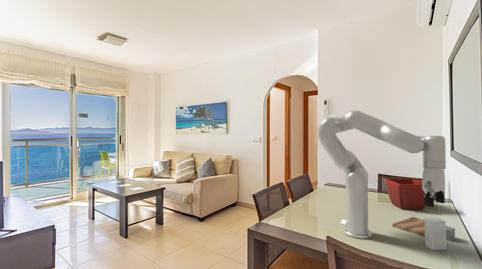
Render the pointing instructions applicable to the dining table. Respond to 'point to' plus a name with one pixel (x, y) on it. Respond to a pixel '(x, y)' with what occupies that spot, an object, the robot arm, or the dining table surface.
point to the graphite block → (450, 233)
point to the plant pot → (406, 193)
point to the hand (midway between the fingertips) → (434, 204)
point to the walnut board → (412, 225)
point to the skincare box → (435, 234)
